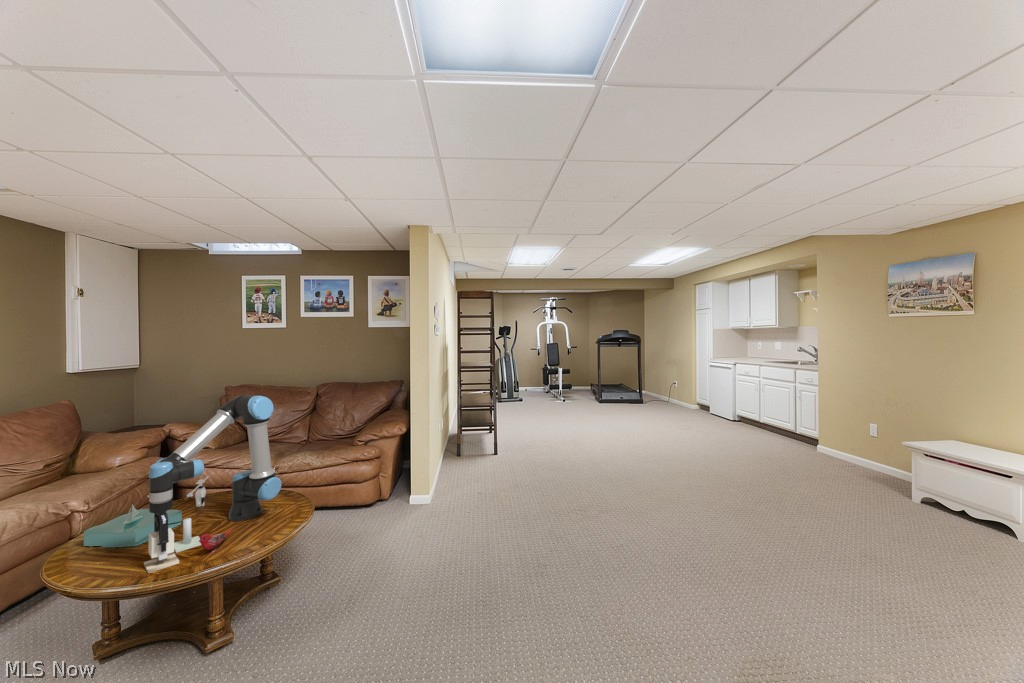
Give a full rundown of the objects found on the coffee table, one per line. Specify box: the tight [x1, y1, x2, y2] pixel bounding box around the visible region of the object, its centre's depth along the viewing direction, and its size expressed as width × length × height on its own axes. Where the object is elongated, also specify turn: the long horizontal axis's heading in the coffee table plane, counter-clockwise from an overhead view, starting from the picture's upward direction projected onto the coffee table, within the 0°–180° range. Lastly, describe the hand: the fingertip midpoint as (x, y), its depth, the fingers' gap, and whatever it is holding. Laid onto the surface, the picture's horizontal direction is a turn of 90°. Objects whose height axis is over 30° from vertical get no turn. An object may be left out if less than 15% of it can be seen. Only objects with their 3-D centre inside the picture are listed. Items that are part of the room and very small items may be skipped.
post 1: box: [143, 552, 180, 574], centre depth 177 cm, size 10×10×12 cm
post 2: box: [174, 517, 202, 554], centre depth 193 cm, size 10×10×12 cm
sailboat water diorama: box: [83, 503, 183, 548], centre depth 205 cm, size 25×25×16 cm
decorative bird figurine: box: [199, 527, 235, 555], centre depth 188 cm, size 3×18×10 cm, turn 167°
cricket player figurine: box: [186, 475, 210, 508], centre depth 239 cm, size 13×10×15 cm
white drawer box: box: [148, 528, 175, 559], centre depth 177 cm, size 7×7×9 cm
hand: (161, 555), depth 176 cm, fingers closed on white drawer box, 7 cm apart
